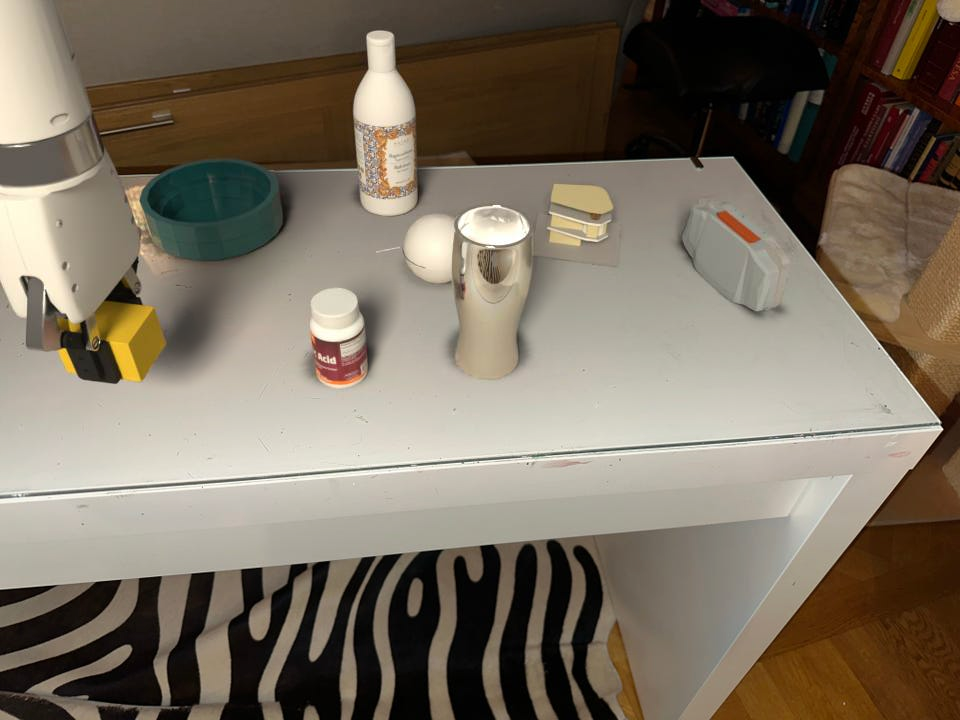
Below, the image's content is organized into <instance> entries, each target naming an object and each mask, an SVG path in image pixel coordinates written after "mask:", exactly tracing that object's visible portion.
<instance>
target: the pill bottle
mask: <svg viewBox="0 0 960 720" xmlns="http://www.w3.org/2000/svg"><path fill="white" fill-rule="evenodd" d="M310 313H311V317H310V319H309V334H310V339H311V346H312V353H313V361H314V367H315V373H316V376H317V378H318V380H319V381H320V382H321V384H323V385H325V386H326V387H329V388H333V389H348V388H351V387H353V386H356V385H358V384H360V383H362V381H363V380H364V379H365V378H366V377H367V374H368V371H369V364H368V363H369V362H368V351H367V349H368V348H367V338H366V337H367V336H366V326H365V325H366V323H365V317H364V316H363V314H362V312H361V310H360V307H359V300H358V296H357V295H356V294H355V293H354V292H353V291H351V290H350V289H348V288H344V287H329V288H325V289H322V290H320V291H318V292H317V293H315V295H313V297H312V298H311V300H310Z"/></svg>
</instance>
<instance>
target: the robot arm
mask: <svg viewBox="0 0 960 720" xmlns="http://www.w3.org/2000/svg"><path fill="white" fill-rule="evenodd" d="M69 35H70V34H69V32H68V28H67V26H66V22H65V20H64V16H63V13H62V10H61V8H60V4H59V1H58V0H0V283H1V286H2V288H3V291H4V293H5V295H6V298H7V300H8V302H9V304H10V306H11V308H12V310H13V312H14V313H15V314H16V315H17V317H18V318H22V319H26V325H25V326H26V327H25V347H26V349H28V350H30V351H38V352H47V353H49V352H56V351H57V350H61V349H64V348H66V350H67V352H68V355H69V357H70V359H71V362H72V364H73V366H74V368H75V371H76V373H77V374H76V375H77V377H78V378H79V379H80V380H83V381H88V382H96V383H102V384H103V383H105V384H113V385H118V383H120V381H121V374H120V372H119V369H118V367H117V364H116V362H115V359H114V356H113V354H112V351H111V349H110V346H109V343H108V341H105V340H101V339H100V334H99V329H98V324H97V319H96V314H95V311H96V309H97V308H98V307H99V306H100V305H101V303H102V302H103V301H111V302H119V303H128V304H137V305H144V304H143V301H142V298H141V296H139V295H140V293H141V292H142V282H141V280H140V279H139V277H138V275H137V273H138V266H139V262H140V260H139V255H140V251H141V240H142V236H143V235H142V234H143V233H142V229H141V227H139V226H138V225H137V222H136V219H135V216H134V211H133V209H132V206H131V203H130V201H129V200H130V199H129V198H128V195H127V193H126V190H125V187H124V184H123V183H122V181H121V178H120V175H119V174H118V171H117V169H116V166H115V164H114V162H113V160H112V158H111V156H110V154H109V152H108V151H107V148H106V147H105V145H104V142H103V138H102V136H101V133H100V130H99V126H98V124H97V123H98V122H97V120H96V116H95V114H94V111H93V108H92V105H91V101H90V99H89V96H88V95H89V94H88V92H87V90H86V89H87V88H86V86H85V82H84V79H83V76H82V73H81V70H80V67H79V63H78V60H77V56H76V54H75V50H74V47H73V45H72V42H71V38H70V36H69ZM68 320H70V322H71V323H72V324H79V323H80V327H81V331H82V333H79V332H71V331H70V327H69V322H68Z"/></svg>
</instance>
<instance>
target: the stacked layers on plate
mask: <svg viewBox="0 0 960 720" xmlns="http://www.w3.org/2000/svg"><path fill="white" fill-rule="evenodd" d="M549 202H550V205H549V209H548V214H546V213H545V214H544V213H538V214H537V219H536V223H535V228H534V231H533V257H540V258H541V257H542V258H549V259H556V260H564V261H571V262H577V263H578V262H580V263H585V264H586V263H587V264H592V265H594V264H595V265H602V266H610V267H615V268H616V267H619V260H620V247H621V232H622V223H617V222H612V215H611V213H610V211H612V210H614V205H613V202H612V200H611V199H610V196H609V193H608V191H607V190H606V189H605V188H603V187H600V186H597V185H589V184H588V185H585V184H566V183H565V184H563V183H554V184H553V187H552V191H551V194H550V200H549Z"/></svg>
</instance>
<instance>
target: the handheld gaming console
mask: <svg viewBox="0 0 960 720" xmlns="http://www.w3.org/2000/svg"><path fill="white" fill-rule="evenodd" d="M681 237H682V242H683V245H684V248H685V250H686V251H687V253H688V254H689V256H690V257H691V259H692V263H693V267H694V269H695V270H696V271H697V272H698V274H699V275H700V276H701V277H702V278H703V279H704V280H705V281H706V282H707V283H708V284H709V285H710V286H711V287H712V288H714V289H715V290H716V291H717V292H718V293H719V294H721V295H722V296H723V297H725V298H726V299H727V300H729V301H730V302H732V303H735V304H739V305H743V306H745V307H747V308H748V309H750V310H752V311H754V312H760V311H764V310H765V311H767V310H773V309H776V308H777V307H778V306H779V304H781V302H782V300H783V299H782V298H783V296H784V293H785V288H786V285H787V281H788V275H789V271H790V266H791V260H790V258H789V257H788V255H787V254H786V252H784V251H783V249H782V248H781V247H780V245H779V244H778V242H777V240H776V239H775V237H774V236H773V235H772V234H770V233H769V232H768V231H767V230H766V229H764V228H763V227H762V226H761V225H759V224H758V223H757V222H755V221H754V220H753V219H751V218H750V217H749V216H748V215H746V214H745V213H744V212H742V211H741V210H740V209H739V208H738V207H736V206H735V205H734V204H732V203H731V202H725V201H720V200H719V199H717V198H715V197H713V196H711V195H708V196H704V197H701V198H700V199H699V203H697V204H695V205H693V206H691V209H690V213H689V217H688V219H687V222H686V225H685V228H684V231H683V232H682V236H681Z"/></svg>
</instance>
